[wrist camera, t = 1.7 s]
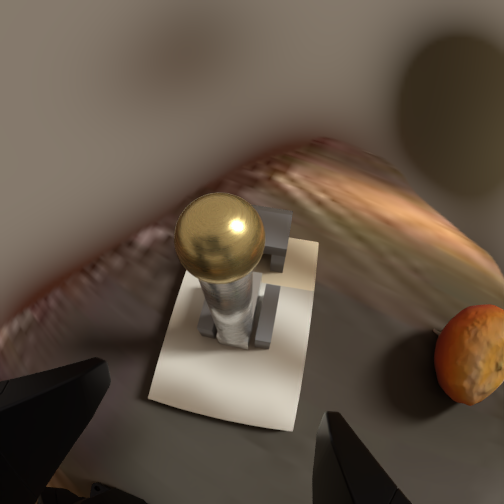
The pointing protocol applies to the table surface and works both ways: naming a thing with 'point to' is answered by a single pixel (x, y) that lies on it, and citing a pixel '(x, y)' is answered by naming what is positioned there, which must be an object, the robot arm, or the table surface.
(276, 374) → the board
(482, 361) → the fruit
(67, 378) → the robot arm
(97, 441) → the table surface
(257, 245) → the gold knob lever
